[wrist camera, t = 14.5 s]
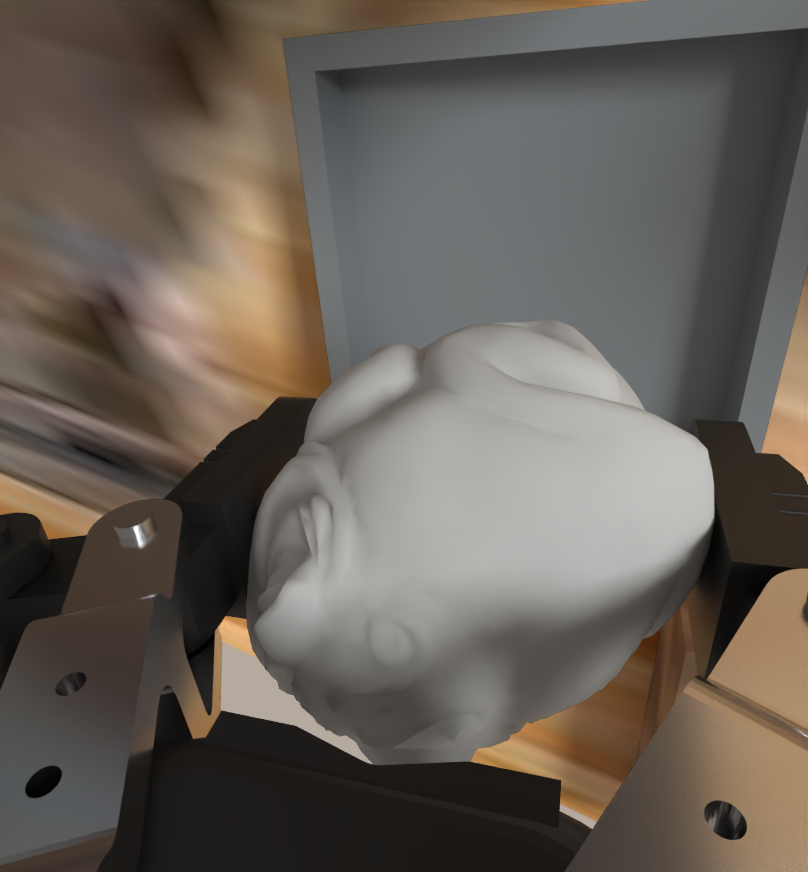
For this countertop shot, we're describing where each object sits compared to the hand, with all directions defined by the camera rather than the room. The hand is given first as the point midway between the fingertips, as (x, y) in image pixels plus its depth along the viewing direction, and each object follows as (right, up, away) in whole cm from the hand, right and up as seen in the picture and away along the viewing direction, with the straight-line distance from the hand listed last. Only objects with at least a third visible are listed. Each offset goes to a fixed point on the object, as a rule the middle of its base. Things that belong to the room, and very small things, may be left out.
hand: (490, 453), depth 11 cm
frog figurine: (+1, +1, +1) cm, 2 cm away
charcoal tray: (+3, +6, +9) cm, 11 cm away
